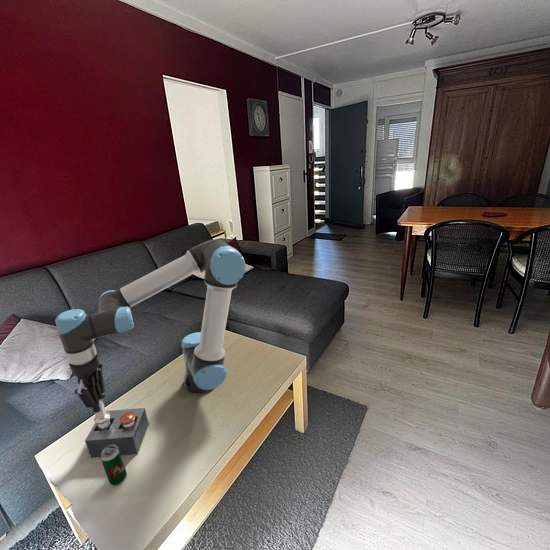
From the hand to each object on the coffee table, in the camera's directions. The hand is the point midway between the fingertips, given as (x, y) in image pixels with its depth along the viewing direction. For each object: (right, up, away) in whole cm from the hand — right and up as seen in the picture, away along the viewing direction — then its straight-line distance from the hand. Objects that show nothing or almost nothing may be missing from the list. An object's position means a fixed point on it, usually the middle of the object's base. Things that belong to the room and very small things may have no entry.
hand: (101, 416), depth 101 cm
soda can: (+10, -16, -8) cm, 20 cm away
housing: (+4, -11, +5) cm, 12 cm away
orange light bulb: (+8, -8, +4) cm, 12 cm away
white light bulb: (0, -8, +3) cm, 8 cm away
